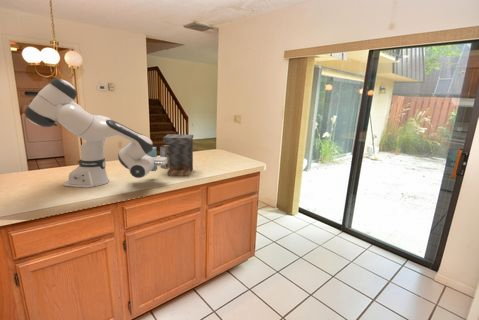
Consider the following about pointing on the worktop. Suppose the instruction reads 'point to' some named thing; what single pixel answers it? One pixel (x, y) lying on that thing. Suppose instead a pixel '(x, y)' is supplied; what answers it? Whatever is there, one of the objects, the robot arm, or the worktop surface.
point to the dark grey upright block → (180, 154)
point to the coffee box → (165, 154)
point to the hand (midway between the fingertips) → (152, 157)
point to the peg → (153, 154)
